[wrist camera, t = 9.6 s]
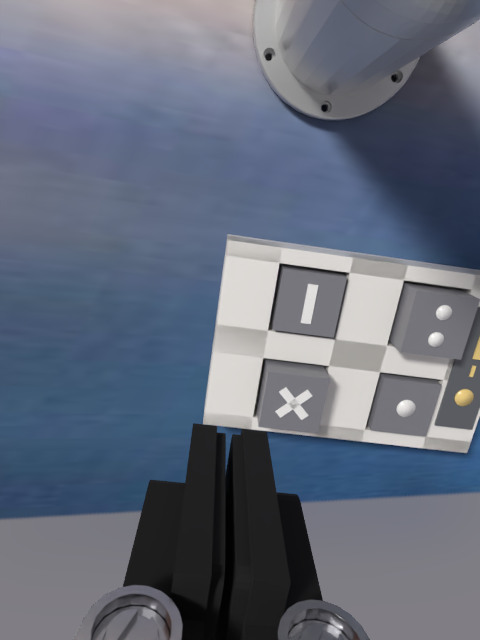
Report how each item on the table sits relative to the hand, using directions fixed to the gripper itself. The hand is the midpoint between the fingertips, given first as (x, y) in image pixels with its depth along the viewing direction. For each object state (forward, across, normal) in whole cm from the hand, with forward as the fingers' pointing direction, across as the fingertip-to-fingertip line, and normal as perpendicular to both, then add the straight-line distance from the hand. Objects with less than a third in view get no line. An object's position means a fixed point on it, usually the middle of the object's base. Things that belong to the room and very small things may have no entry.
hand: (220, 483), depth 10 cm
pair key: (+27, -17, +2) cm, 32 cm away
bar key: (+28, -7, +2) cm, 29 cm away
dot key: (+28, -17, +10) cm, 34 cm away
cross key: (+27, -7, +10) cm, 29 cm away
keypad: (+29, -12, +6) cm, 32 cm away
